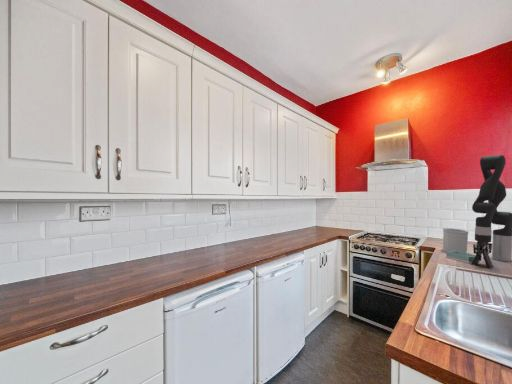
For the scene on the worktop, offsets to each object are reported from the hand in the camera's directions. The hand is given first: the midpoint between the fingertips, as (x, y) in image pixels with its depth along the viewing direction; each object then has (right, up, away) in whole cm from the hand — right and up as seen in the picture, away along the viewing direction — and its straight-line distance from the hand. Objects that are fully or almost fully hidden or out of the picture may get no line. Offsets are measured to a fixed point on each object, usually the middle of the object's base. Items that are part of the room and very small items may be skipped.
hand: (482, 260), depth 145 cm
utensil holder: (+10, -4, +32) cm, 33 cm away
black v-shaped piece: (0, -4, 0) cm, 4 cm away
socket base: (-1, -4, +13) cm, 13 cm away
